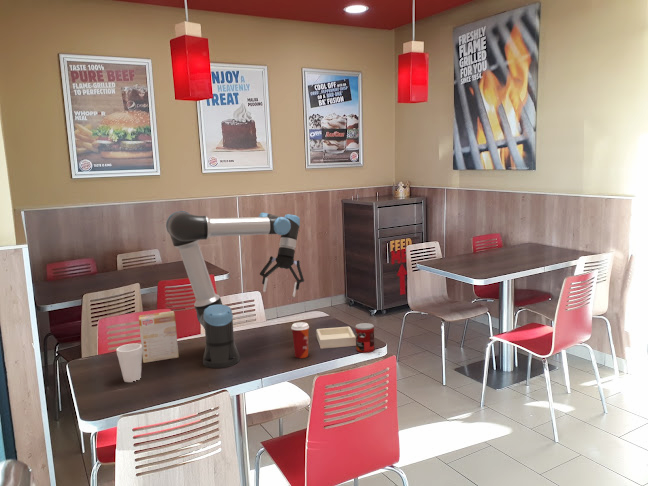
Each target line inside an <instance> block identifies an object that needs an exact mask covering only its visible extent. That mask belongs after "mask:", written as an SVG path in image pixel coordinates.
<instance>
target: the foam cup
mask: <svg viewBox="0 0 648 486" xmlns="http://www.w3.org/2000/svg"><path fill="white" fill-rule="evenodd" d="M115 351H116V356H117V359H118V363H119V367H120V370H121V375H122V378H123V381H124V383H134V382H133V381H135V382H137V381H136V380H138V381H139V380H141V379H140V378H142V363H143V356H142V351H143V350H142V345H141V343H137V342H136V343H128V344H123V345H119V347H117V348H116V349H115Z"/></svg>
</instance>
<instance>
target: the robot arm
mask: <svg viewBox="0 0 648 486" xmlns="http://www.w3.org/2000/svg"><path fill="white" fill-rule="evenodd" d="M300 224H301V218H300V217H299V216H298V215H295V214H289V213H287V214H285V215H284V216H279V215H276V214H270V213H268V212H261V213H259V215H258V216H257V217H255V216H254V217H253V216H252V217H248V216H247V217H214V218H213V217H209V216H207V215H196V214H195V215H194V214H190V213H189V212H187V211H183V210H182V211H181V210H180V211H175V212H173V213H171V215H169V217H168V218H167V220H166V224H165V226H166V231H167V232H168V234H169V236H170V239H171V242H172V244H173V247H174V248H176V249H177V250H178V251H179V254H180V256H181V257H180V258H181V260H182V263H183V265H184V266H183V267H184V268H185V271H186V274H187V277H188V280H189V283H190V286H191V288H192V292H193V294H194V297H195V301H194V303H193V305H194V309H195V311H196V317H197V320H198V322H199V324H201V326H202V327H203V329H204V333H205V348H204V353H203V357H202V365H203V366H205V367H206V368H209V369H210V368H211V369H223V368H228V367H231V366H233V365H236V364H238V363H239V361H240V353H239V351H238V349H237V348H238V347H237V346H236V343H235V337H234V336H235V335H234V319H233V318H234V315H233V311H232V308H231V307H230V306H229V305H225V304H223V302H222V299H221V296H220V294H217V293H216V292H215V289H214V285H213V282H212V280H211V276H210V274H209V270H208V268H207V265H206V264H207V263H206V262H205V258H204V256H203V253H202V249H201V245H200V244H199V242H200V241H202V240H208V239H209V238H212V237H216V238H217V237H236V236H237V237H238V236H257V235H258V236H260V235H261V236H262V235H279V236H280V238H279V239H280V240H279V245H278V246H279V247H278V251H277V256H276V257H273V256H272V255H271V256H270V257H269V259H268V261H267V263H266V264H265V265H264V267H263V269H262V270H261V271H260V272H259V275H260V276H261V277H262V282H261V284H262V285H263V288H262V292H263V293H266V292H267V287H268V280H269V278H268V277H269V276H270V275H271V274H272V273H274V272H275V271H276V270H277V269H278V268H280V269H285V270H290V272H291V273H292V276H293V277H294V279H295V280H296V281H295V282H294V287H293V293H292V297H293V298H295V297H296V295H297V294H296V293H297V291H299V290H300V284H301V283H304V282H305V279H304V275H303V271H302V269H301V261H300V260H295V254H296V253H295V252H296V247H297V242H298V236H299V231H300V226H301V225H300ZM275 262H276V263H275ZM273 263H275V265H273V266H272V267H271V268H270V266H271V265H272V264H273ZM293 265H295V266H296V267H297V272H298V275H299V276H298V275H297V273H296V271H295V270H294V269H293V267H292V266H293ZM269 268H270V269H269ZM299 277H300V278H299Z"/></svg>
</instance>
